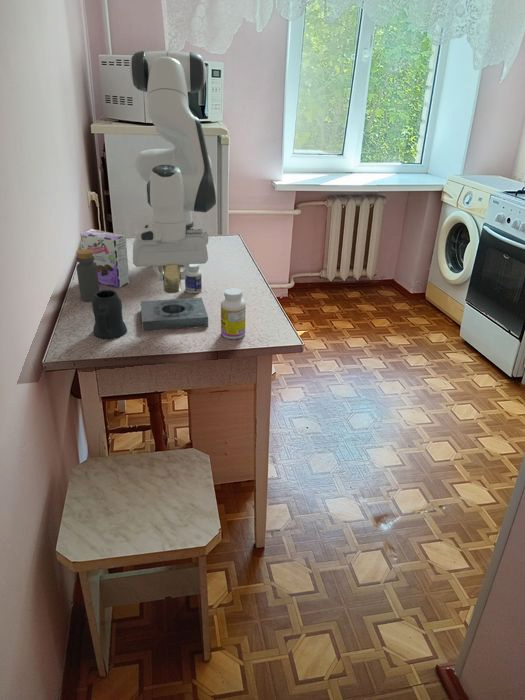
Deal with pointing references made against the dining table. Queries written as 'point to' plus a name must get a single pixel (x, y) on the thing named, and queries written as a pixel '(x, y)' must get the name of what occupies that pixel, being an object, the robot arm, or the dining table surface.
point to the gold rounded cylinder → (171, 278)
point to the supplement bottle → (233, 314)
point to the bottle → (87, 275)
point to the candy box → (108, 256)
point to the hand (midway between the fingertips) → (171, 279)
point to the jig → (173, 314)
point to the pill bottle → (193, 279)
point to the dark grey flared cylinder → (108, 315)
